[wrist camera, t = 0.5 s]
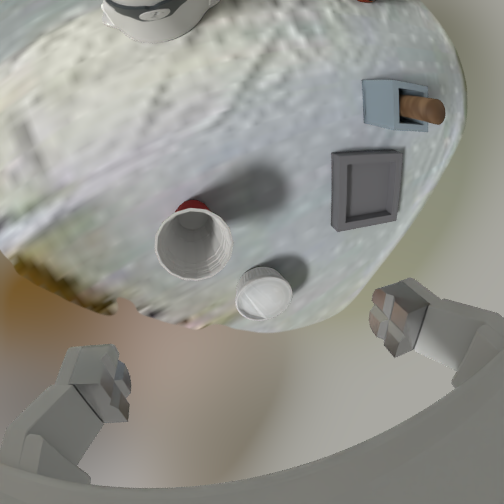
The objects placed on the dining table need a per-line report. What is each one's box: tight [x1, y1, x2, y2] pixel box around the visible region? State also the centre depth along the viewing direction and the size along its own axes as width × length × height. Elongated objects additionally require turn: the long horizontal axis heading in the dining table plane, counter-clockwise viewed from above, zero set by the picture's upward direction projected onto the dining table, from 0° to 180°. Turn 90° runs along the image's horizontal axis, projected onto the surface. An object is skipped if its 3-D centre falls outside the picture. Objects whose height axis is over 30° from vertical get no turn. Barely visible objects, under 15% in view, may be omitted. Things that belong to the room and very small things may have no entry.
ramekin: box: [235, 267, 293, 321], centre depth 55 cm, size 11×11×5 cm
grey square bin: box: [362, 80, 428, 132], centre depth 38 cm, size 8×8×9 cm
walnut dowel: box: [399, 94, 445, 125], centre depth 36 cm, size 4×4×14 cm
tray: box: [331, 150, 403, 232], centre depth 49 cm, size 15×15×3 cm
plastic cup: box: [155, 200, 233, 281], centre depth 42 cm, size 11×11×12 cm
